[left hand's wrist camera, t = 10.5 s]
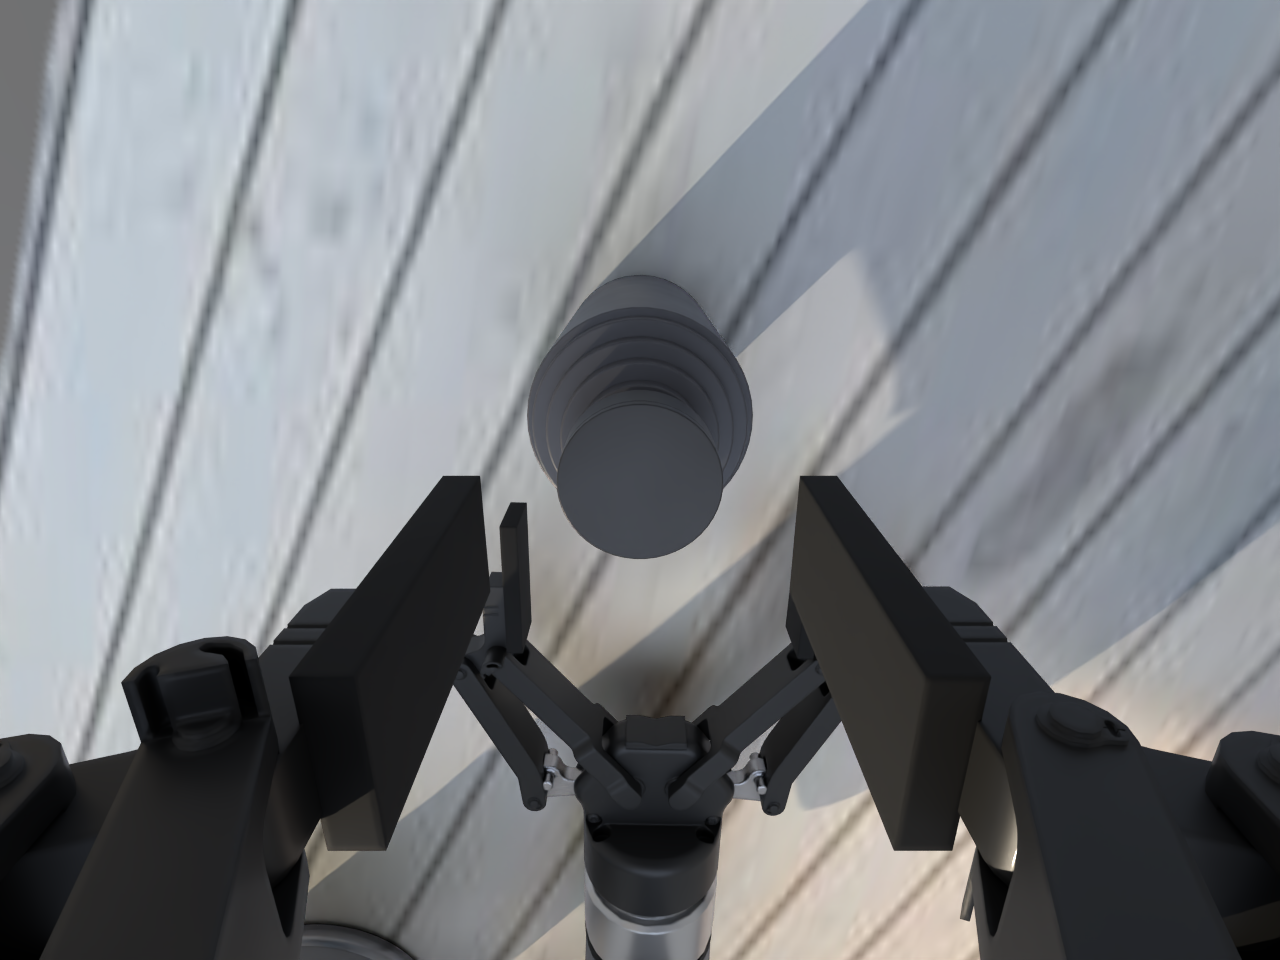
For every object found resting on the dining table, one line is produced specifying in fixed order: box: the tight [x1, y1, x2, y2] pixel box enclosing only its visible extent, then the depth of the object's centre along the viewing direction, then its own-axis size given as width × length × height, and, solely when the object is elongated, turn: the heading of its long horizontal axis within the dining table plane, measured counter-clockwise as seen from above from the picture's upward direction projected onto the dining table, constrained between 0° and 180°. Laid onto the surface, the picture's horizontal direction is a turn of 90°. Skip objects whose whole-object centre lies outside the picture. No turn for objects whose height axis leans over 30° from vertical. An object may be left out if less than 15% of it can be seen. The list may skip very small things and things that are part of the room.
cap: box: [557, 390, 723, 559], centre depth 18 cm, size 4×4×2 cm
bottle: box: [527, 275, 753, 489], centre depth 26 cm, size 7×7×18 cm
